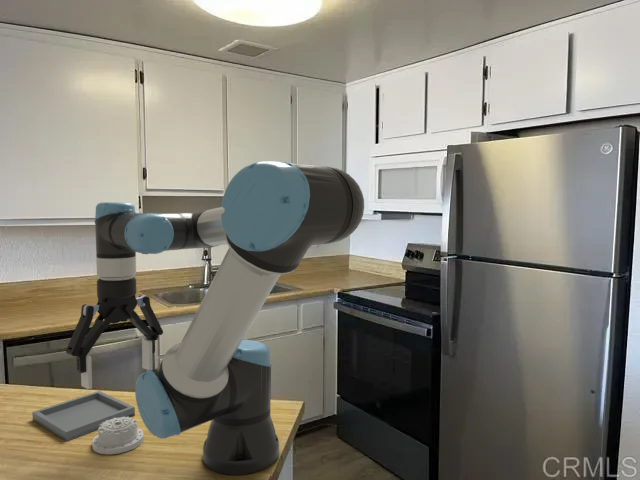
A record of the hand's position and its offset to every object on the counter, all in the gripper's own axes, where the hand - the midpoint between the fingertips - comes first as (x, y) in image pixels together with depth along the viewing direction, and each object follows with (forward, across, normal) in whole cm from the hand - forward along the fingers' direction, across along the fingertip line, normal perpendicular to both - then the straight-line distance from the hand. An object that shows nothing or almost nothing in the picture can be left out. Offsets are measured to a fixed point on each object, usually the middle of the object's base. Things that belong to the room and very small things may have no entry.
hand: (118, 377), depth 101 cm
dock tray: (+14, -1, -17) cm, 22 cm away
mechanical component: (+14, 0, 0) cm, 14 cm away
